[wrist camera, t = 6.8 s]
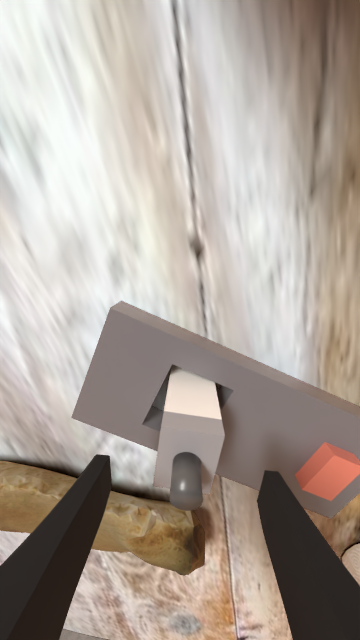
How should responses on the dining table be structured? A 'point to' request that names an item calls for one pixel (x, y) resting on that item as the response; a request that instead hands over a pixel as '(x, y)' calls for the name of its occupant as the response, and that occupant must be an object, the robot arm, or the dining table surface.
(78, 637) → the hip flask
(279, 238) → the dining table surface
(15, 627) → the robot arm
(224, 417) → the power strip
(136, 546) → the stone tool
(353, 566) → the paper towel roll
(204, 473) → the plug
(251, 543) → the dining table surface
